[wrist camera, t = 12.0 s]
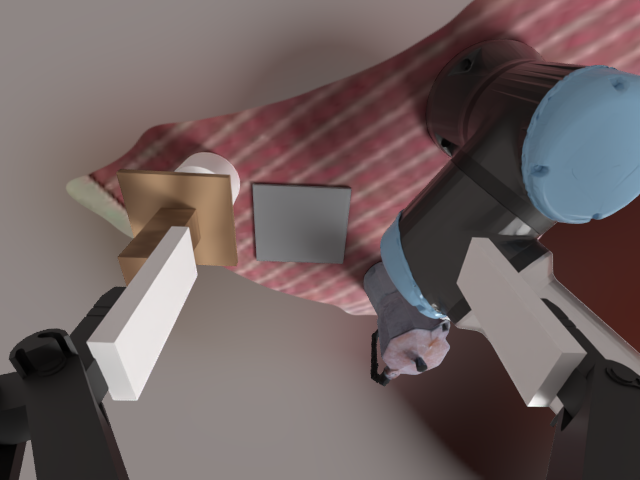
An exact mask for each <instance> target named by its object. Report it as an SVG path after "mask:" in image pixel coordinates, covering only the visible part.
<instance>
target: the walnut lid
mask: <svg viewBox="0 0 640 480" xmlns="http://www.w3.org/2000/svg"><path fill="white" fill-rule="evenodd" d="M116 174H117V177H118V181H119V185H120V188H121V192H122V195H123V199H124V203H125V206H126V210H127V214H128V217H129V221H130V224H131V228H132V232H133V235H134V239H133V240H132V241H131V242H130V244H129V245H128V246H127V247H126V248H125V249H124V250H123V251H122V253H121V254H120V255H119V256H118V260H119V263H120V266H121V269H122V273H123V276H124V279H125V282H126V285H127V286H128V285H129V284H130V282H131V281H132V279H133V278H134V277H135V275H136V274H137V273H138V271H139V270H140V269H141V267H142V266H143V265H144V263H145V262H146V260H147V259H148V258H149V256H150V255H151V254H152V252H153V251H154V250H155V248H156V247H157V246H158V244H159V243H160V241H161V240H162V239H163V237H164V236H165V235H166V233H167V232H168V231H169V229H170V228H171V227H172V226H177V227H189V231H190V236H191V242H192V247H193V253H194V259H195V264H196V265H220V266H237V263H238V258H237V246H236V235H235V223H234V212H233V200H232V189H231V177H230V175H227V174H207V173H187V172H167V171H147V170H127V169H120V170H119V171H117V172H116Z"/></svg>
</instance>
